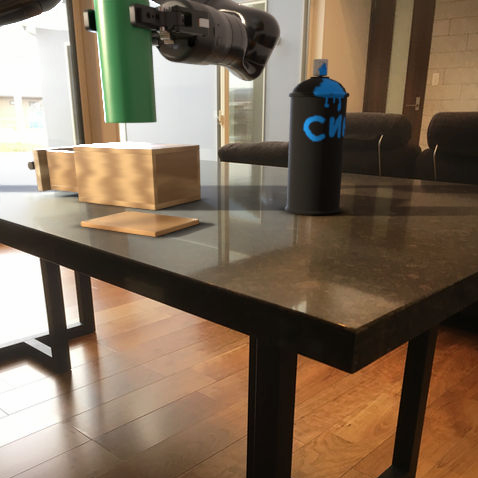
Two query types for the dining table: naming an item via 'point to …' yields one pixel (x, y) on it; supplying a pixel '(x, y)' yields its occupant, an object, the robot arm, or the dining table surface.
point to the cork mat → (140, 223)
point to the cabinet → (138, 174)
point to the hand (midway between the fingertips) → (109, 17)
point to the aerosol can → (316, 144)
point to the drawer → (55, 169)
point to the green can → (125, 64)
